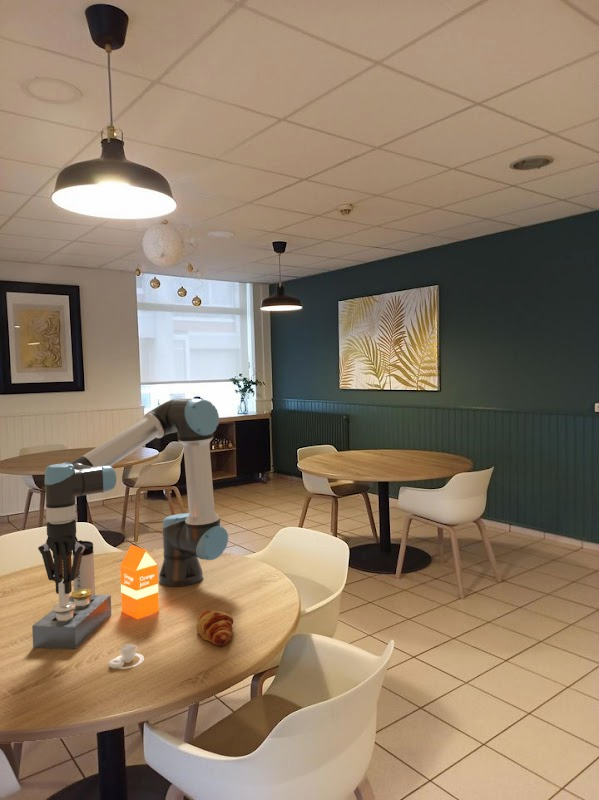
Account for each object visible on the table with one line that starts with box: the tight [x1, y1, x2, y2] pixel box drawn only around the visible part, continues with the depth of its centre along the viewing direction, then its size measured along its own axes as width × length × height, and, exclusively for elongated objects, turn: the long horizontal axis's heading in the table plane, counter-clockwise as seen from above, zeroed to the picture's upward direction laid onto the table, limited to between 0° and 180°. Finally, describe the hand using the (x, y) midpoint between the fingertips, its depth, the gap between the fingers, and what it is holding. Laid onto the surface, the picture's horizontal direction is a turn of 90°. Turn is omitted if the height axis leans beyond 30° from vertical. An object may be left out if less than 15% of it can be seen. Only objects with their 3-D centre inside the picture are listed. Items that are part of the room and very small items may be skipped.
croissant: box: [195, 609, 234, 646], centre depth 160 cm, size 21×10×8 cm, turn 23°
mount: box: [31, 594, 112, 650], centre depth 164 cm, size 12×22×6 cm, turn 174°
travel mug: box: [72, 539, 96, 595], centre depth 182 cm, size 6×7×20 cm
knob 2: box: [71, 588, 92, 606], centre depth 169 cm, size 6×6×8 cm
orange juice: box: [119, 544, 160, 620], centre depth 176 cm, size 8×9×20 cm
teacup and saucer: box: [108, 643, 145, 670], centre depth 145 cm, size 9×8×4 cm
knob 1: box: [53, 602, 75, 621], centre depth 159 cm, size 6×6×8 cm
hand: (64, 604), depth 158 cm, fingers closed
